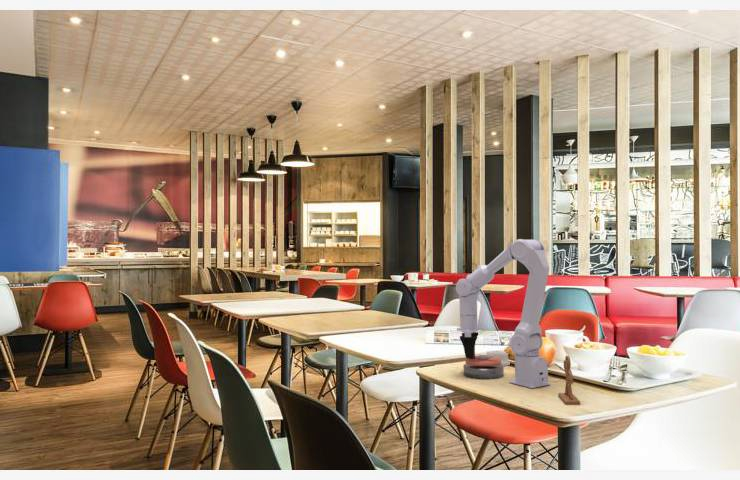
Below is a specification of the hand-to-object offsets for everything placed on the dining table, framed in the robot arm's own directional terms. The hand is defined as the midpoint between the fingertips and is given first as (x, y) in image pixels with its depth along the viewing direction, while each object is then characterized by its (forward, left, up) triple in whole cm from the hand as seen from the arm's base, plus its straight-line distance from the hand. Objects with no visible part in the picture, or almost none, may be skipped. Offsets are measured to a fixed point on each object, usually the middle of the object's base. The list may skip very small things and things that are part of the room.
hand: (469, 356), depth 185 cm
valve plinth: (-3, -3, -6) cm, 7 cm away
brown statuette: (-40, +1, -6) cm, 41 cm away
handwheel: (-3, -3, -3) cm, 5 cm away
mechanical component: (+8, -20, -7) cm, 23 cm away
